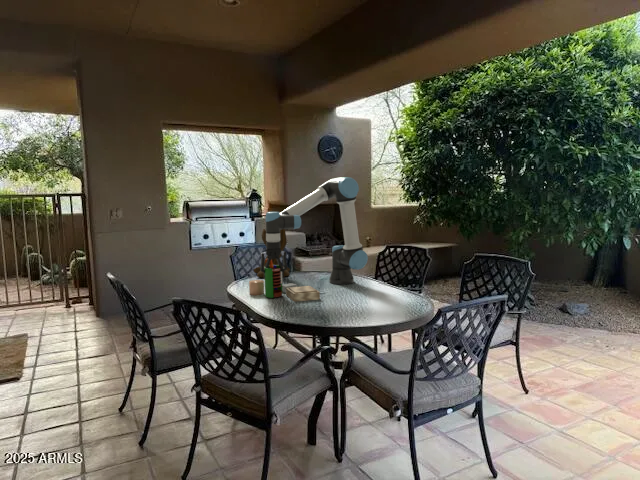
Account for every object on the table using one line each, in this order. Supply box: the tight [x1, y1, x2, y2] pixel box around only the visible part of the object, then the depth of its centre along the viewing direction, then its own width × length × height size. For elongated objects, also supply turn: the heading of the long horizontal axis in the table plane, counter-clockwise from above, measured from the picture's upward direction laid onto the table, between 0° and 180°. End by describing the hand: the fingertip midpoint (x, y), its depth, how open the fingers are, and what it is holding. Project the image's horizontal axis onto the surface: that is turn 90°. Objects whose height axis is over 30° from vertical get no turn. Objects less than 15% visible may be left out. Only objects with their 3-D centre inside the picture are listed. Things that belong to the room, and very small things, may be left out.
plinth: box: [285, 285, 321, 302], centre depth 231 cm, size 14×14×5 cm
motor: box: [264, 259, 283, 299], centre depth 231 cm, size 10×9×20 cm
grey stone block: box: [282, 282, 298, 294], centre depth 245 cm, size 8×5×4 cm, turn 132°
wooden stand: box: [253, 228, 291, 279], centre depth 293 cm, size 29×29×35 cm
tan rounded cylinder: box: [248, 279, 265, 297], centre depth 239 cm, size 8×8×7 cm
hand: (274, 283), depth 232 cm, fingers closed on motor, 7 cm apart
